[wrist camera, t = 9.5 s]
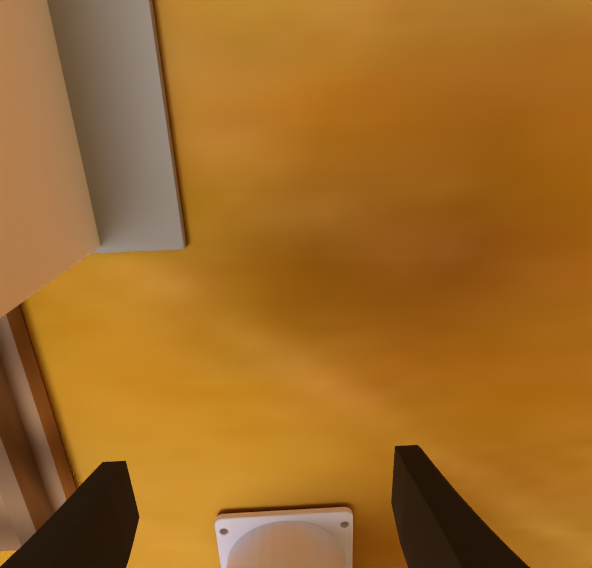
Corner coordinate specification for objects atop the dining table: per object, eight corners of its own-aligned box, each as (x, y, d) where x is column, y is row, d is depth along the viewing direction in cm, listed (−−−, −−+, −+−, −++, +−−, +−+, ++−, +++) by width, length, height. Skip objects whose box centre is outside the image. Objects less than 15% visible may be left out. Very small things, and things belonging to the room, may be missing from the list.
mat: (186, 246, 18) (184, 249, 18) (-43, 256, 18) (-52, 260, 18) (143, -62, 14) (139, -68, 14) (-152, -52, 14) (-167, -58, 14)
